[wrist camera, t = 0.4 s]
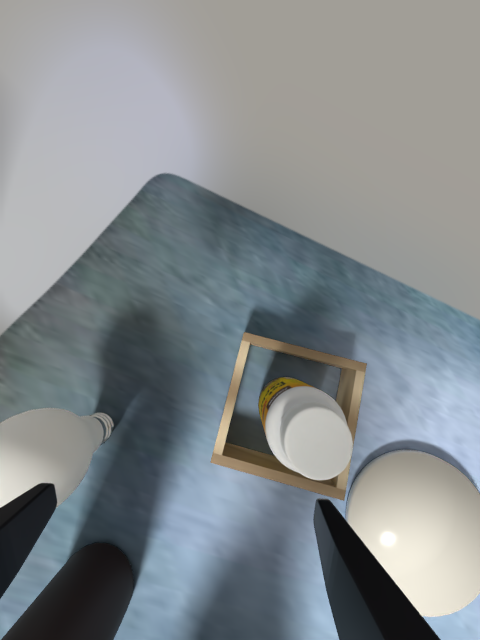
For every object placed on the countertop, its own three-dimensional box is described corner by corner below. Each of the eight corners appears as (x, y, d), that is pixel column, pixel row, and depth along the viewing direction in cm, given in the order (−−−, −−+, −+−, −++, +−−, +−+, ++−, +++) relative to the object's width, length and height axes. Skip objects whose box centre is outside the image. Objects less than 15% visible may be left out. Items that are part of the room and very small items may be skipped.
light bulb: (144, 398, 23) (56, 436, 12) (127, 467, 22) (14, 578, 11) (82, 385, 23) (-60, 412, 12) (62, 454, 22) (-112, 550, 11)
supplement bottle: (273, 366, 23) (297, 374, 13) (320, 393, 23) (384, 422, 13) (247, 415, 22) (252, 463, 12) (296, 444, 22) (343, 518, 12)
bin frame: (329, 480, 21) (344, 500, 19) (214, 448, 22) (210, 462, 19) (350, 362, 23) (366, 363, 20) (243, 335, 24) (243, 332, 21)
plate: (439, 642, 19) (448, 654, 19) (318, 536, 21) (321, 543, 20) (510, 511, 21) (520, 517, 20) (393, 421, 22) (398, 423, 22)
